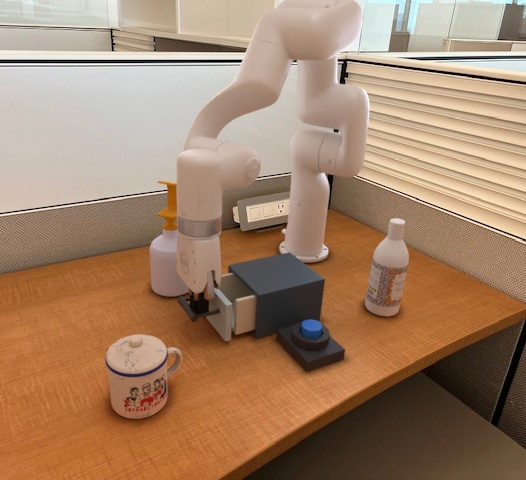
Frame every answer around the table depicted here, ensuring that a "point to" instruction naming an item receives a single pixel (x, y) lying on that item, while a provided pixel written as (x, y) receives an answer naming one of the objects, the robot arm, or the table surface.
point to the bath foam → (388, 272)
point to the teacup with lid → (139, 375)
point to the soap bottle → (167, 251)
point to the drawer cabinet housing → (281, 291)
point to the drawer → (227, 307)
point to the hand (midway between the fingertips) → (199, 314)
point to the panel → (310, 347)
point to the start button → (311, 329)
